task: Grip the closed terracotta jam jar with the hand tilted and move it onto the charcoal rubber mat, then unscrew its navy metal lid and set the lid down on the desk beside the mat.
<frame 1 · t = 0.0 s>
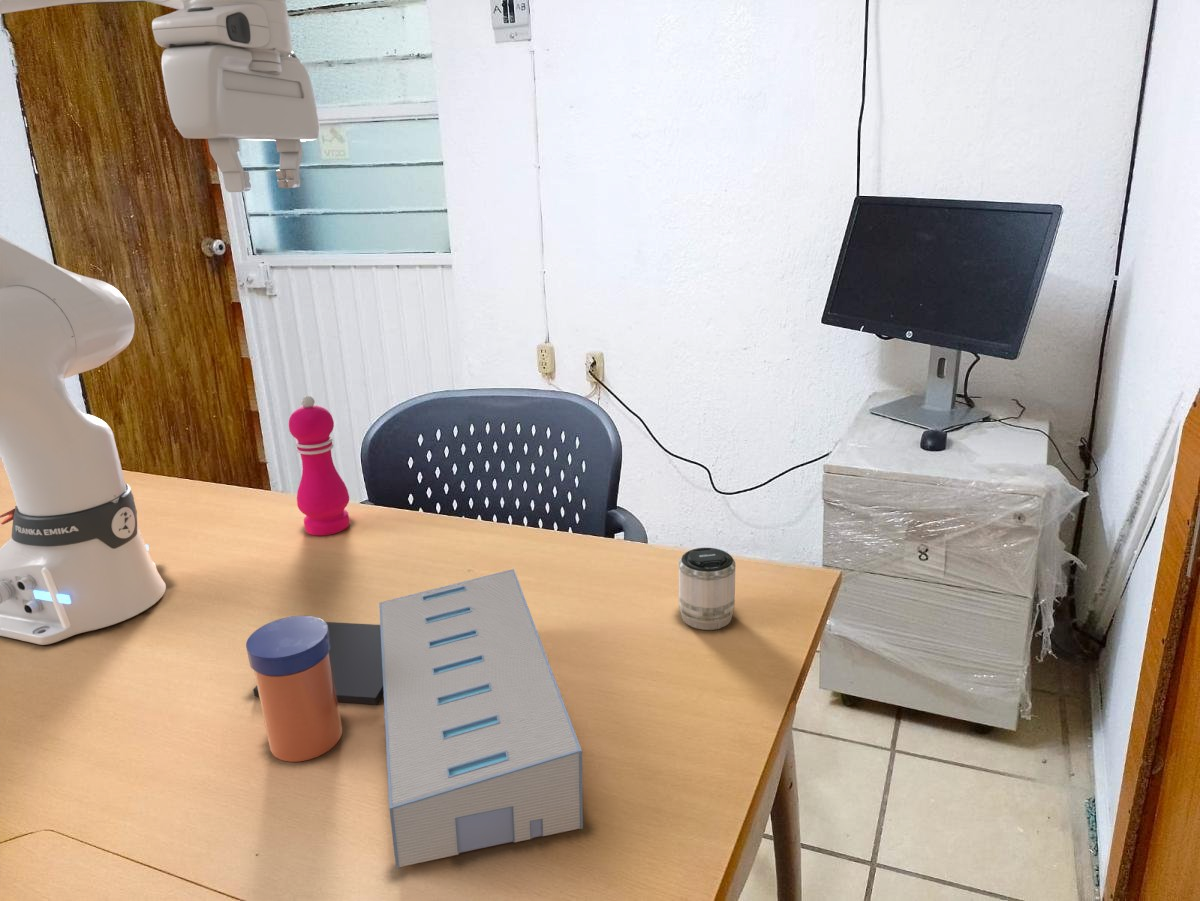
hand: (265, 189, 81), 48 cm above the table, tool pointing down, fingers open, 8 cm apart
pepper mill: (327, 528, 122), on the table
camera lens: (706, 618, 94), on the table
warehouse: (468, 726, 77), on the table, touching mat
jam jar: (306, 738, 77), on the table
jam lid: (288, 638, 73), point 11 cm above the table, screwed on, not yet turned
mat: (343, 662, 88), on the table
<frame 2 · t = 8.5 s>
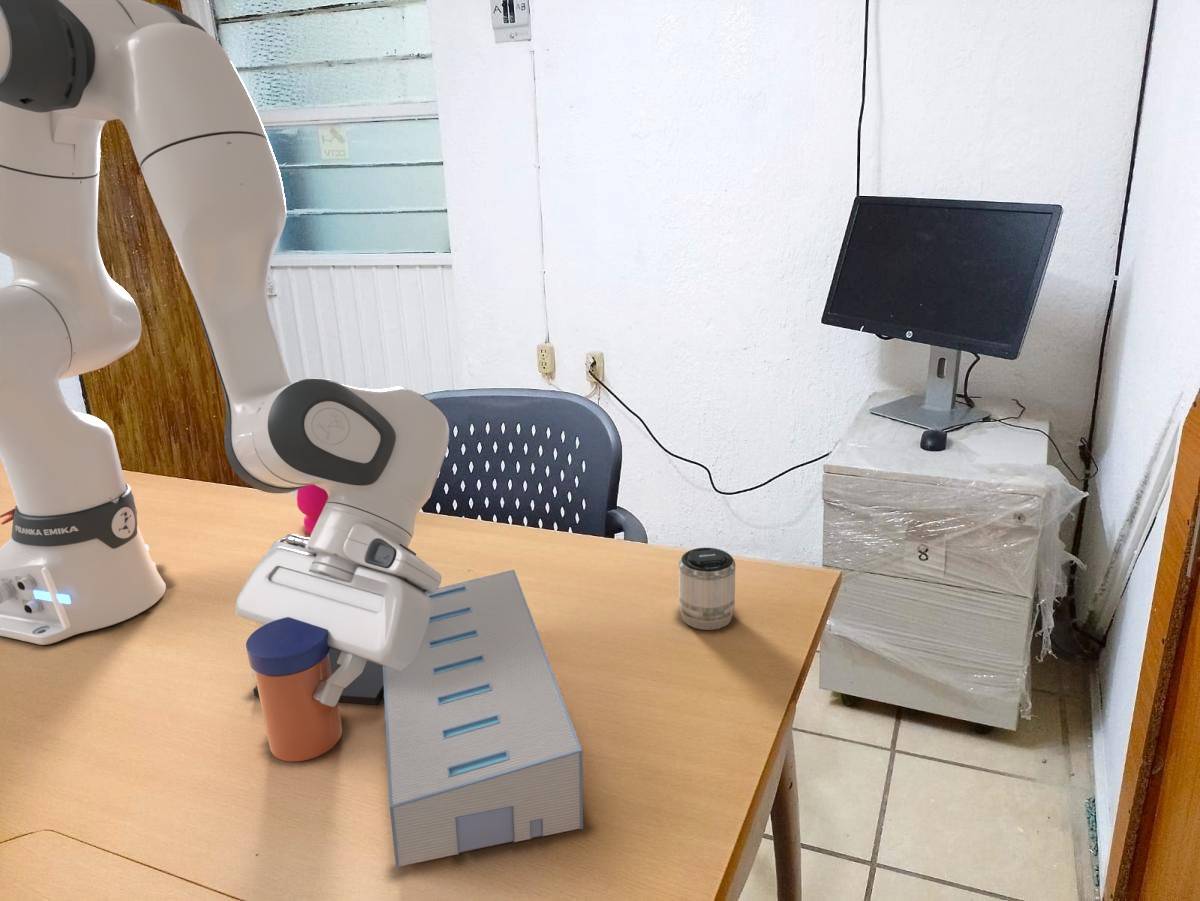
hand: (292, 692, 74), 6 cm above the table, tool tilted 45°, fingers closed on jam jar, 6 cm apart
jam jar: (306, 738, 77), on the table, touching gripper
everything else where it was.
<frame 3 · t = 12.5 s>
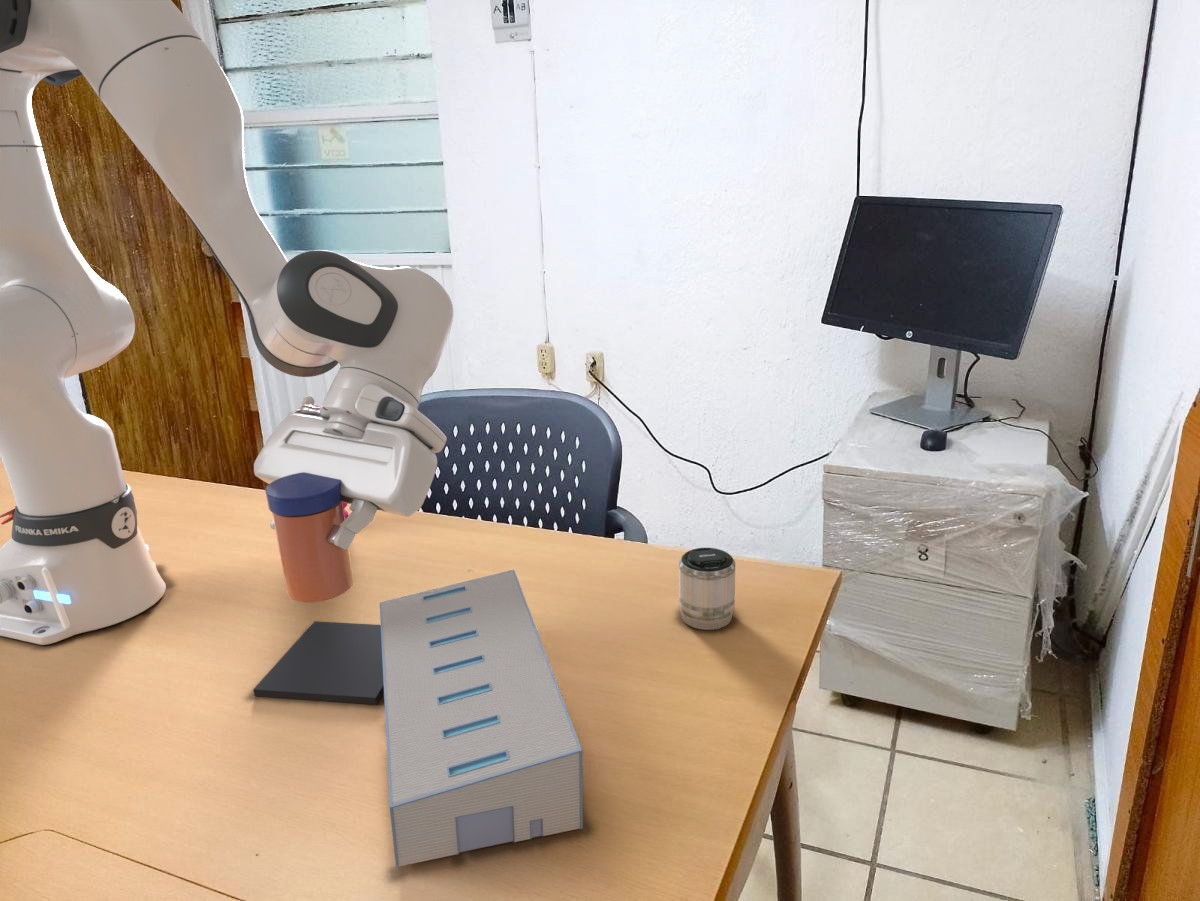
hand: (307, 538, 80), 16 cm above the table, tool tilted 45°, fingers closed on jam jar, 6 cm apart
jam jar: (320, 586, 82), point 11 cm above the table, touching gripper
jam lid: (304, 487, 79), point 21 cm above the table, screwed on, not yet turned
everything else where it was.
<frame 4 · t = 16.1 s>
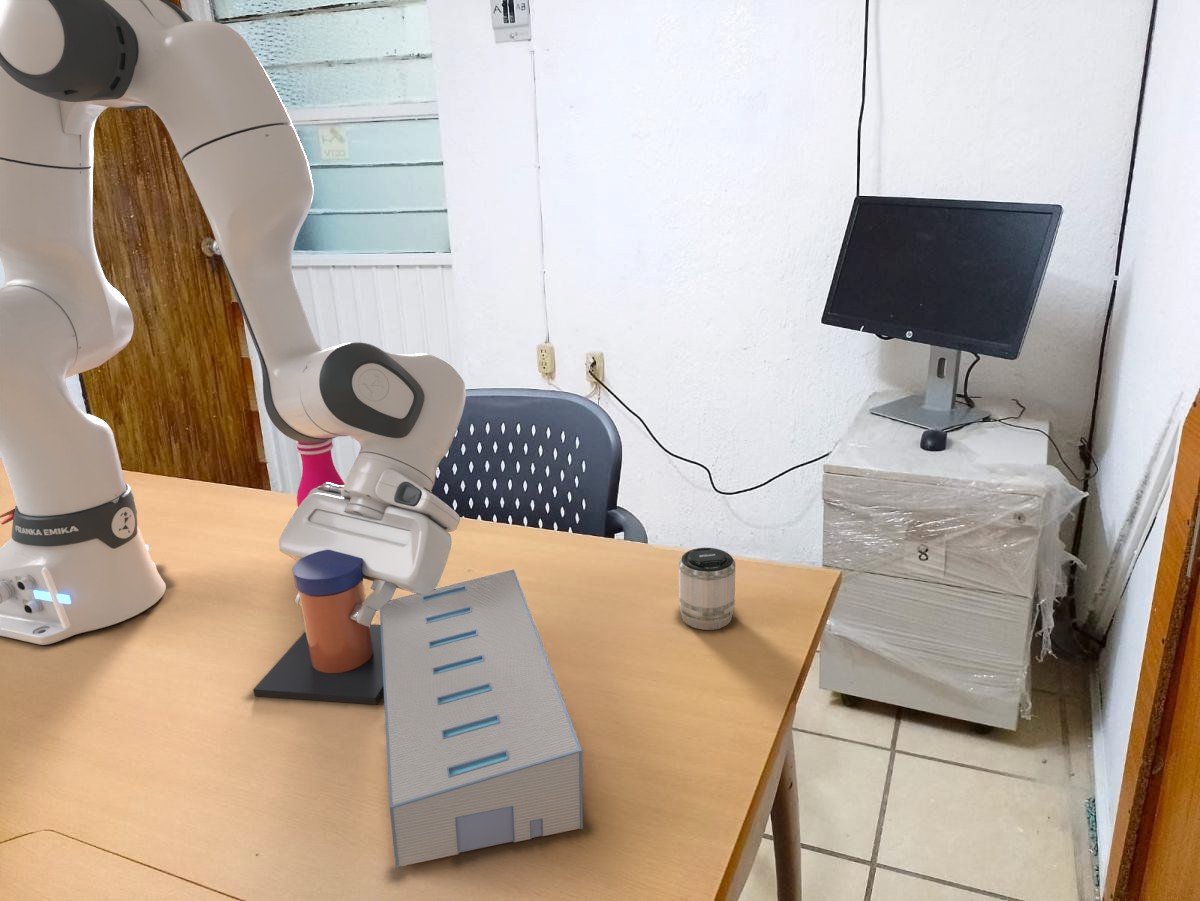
hand: (330, 614, 86), 6 cm above the table, tool tilted 45°, fingers closed on jam jar, 6 cm apart
warehouse: (468, 726, 77), on the table, touching gripper, mat
jam jar: (342, 655, 88), point 1 cm above the table, touching gripper, mat
jam lid: (328, 566, 84), point 11 cm above the table, screwed on, not yet turned
everything else where it was.
when the fingers open (6 cm above the table, at t = 16.1 s): jam jar stays where it is, resting on mat.
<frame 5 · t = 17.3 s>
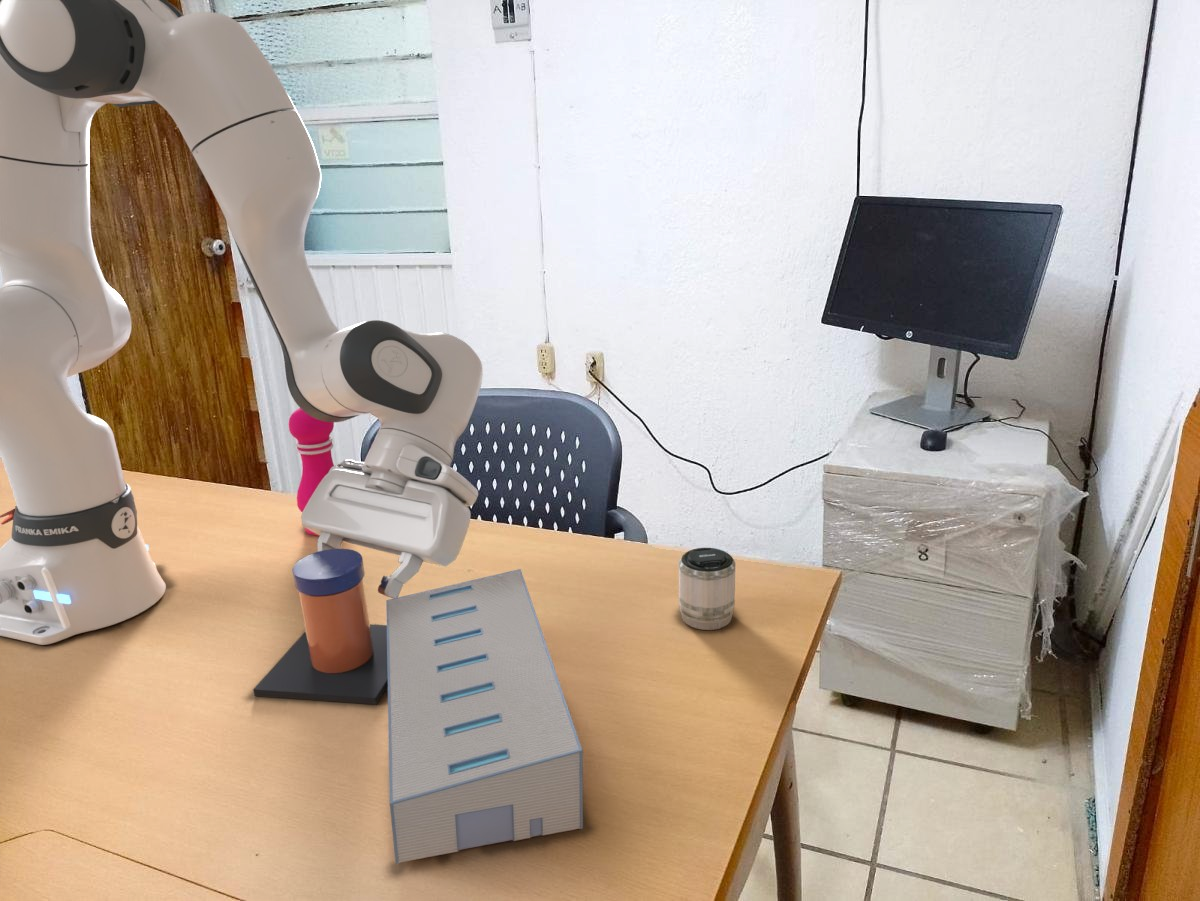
hand: (353, 586, 88), 8 cm above the table, tool tilted 45°, fingers open, 8 cm apart
warehouse: (471, 725, 77), on the table, touching mat
jam jar: (342, 656, 88), point 1 cm above the table, touching mat
everything else where it was.
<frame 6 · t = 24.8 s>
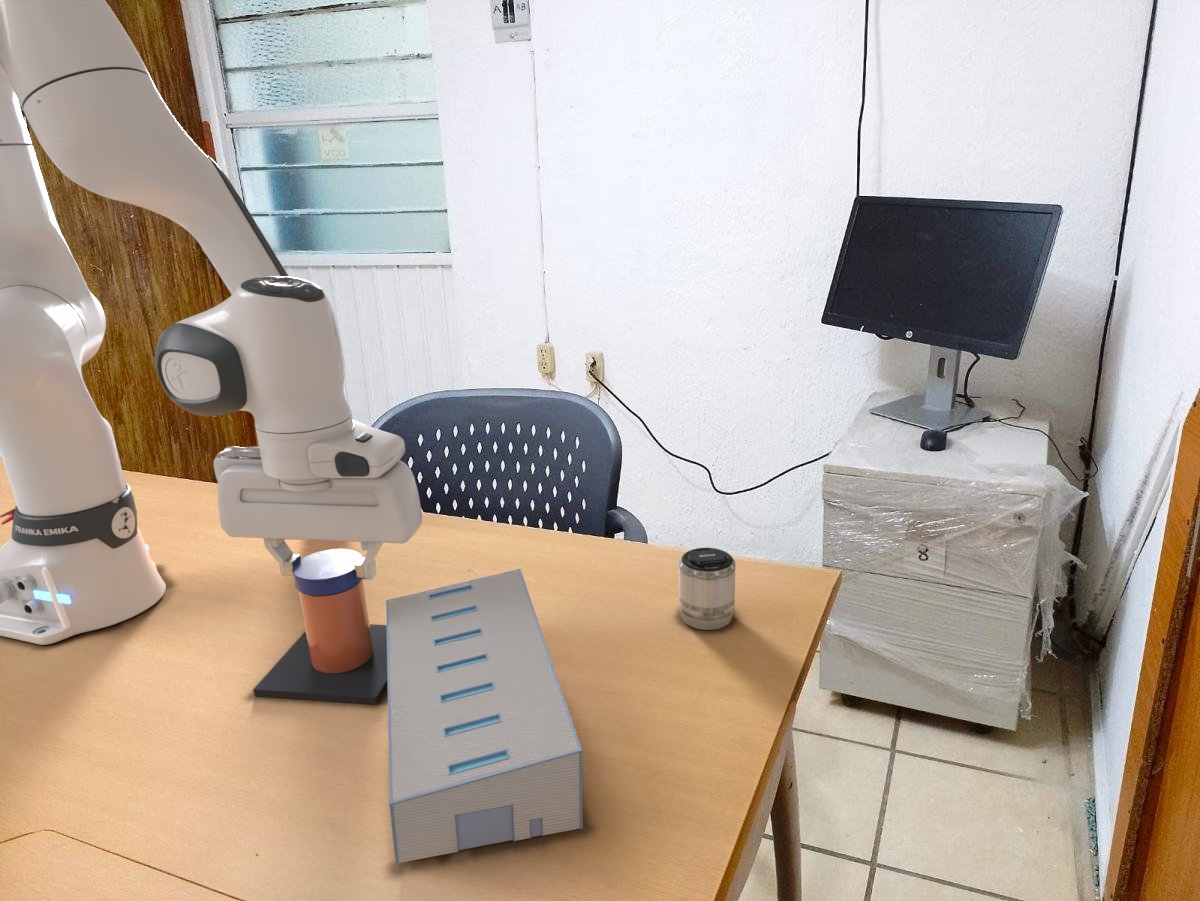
hand: (329, 575, 85), 10 cm above the table, tool pointing down, fingers closed on jam lid, 7 cm apart
jam lid: (328, 566, 85), point 11 cm above the table, screwed on, not yet turned, touching gripper
everything else where it was.
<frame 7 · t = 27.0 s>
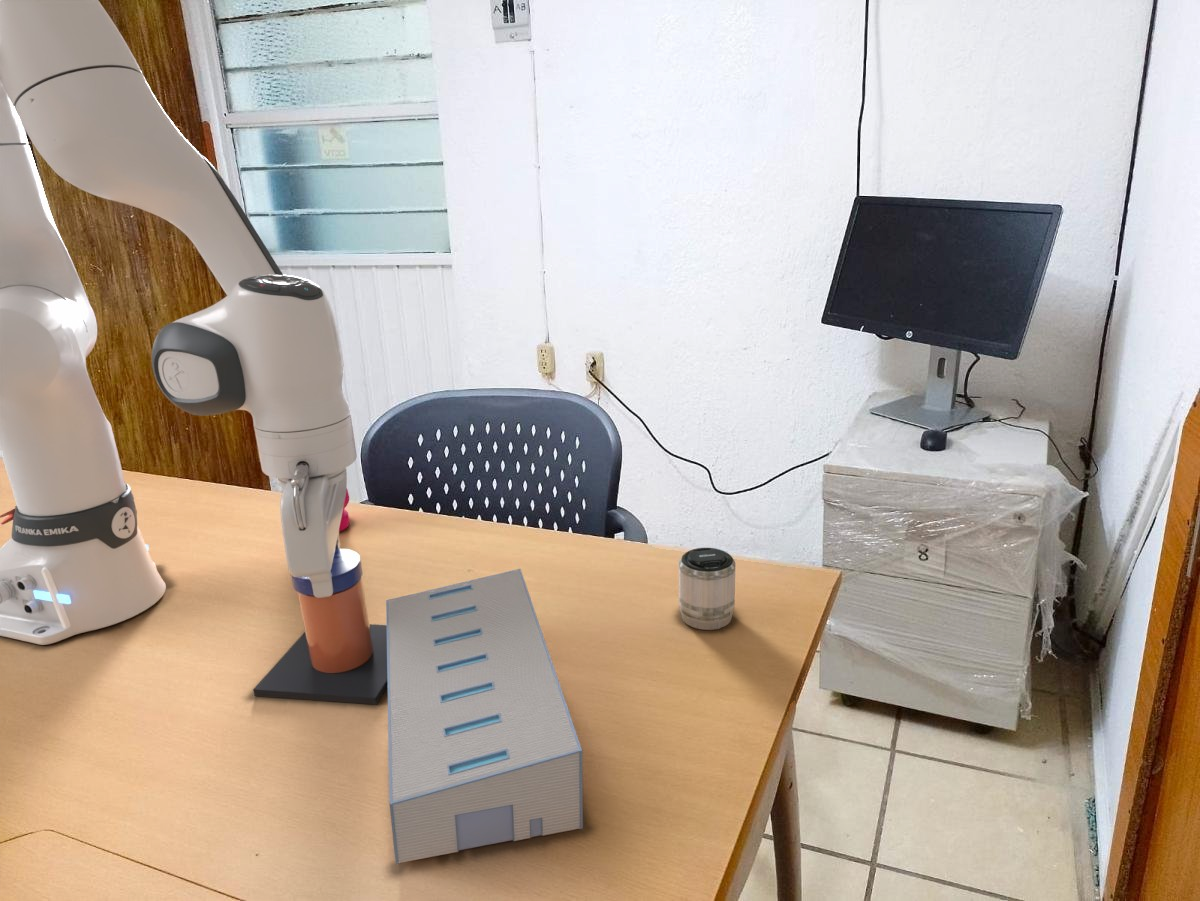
hand: (328, 574, 85), 11 cm above the table, tool pointing down, fingers closed on jam lid, 7 cm apart
jam lid: (326, 566, 84), point 12 cm above the table, off its thread, touching gripper
everything else where it was.
when the fingers open (0 cm above the table, at t = 36.1 s): jam lid stays where it is, point 1 cm above the table.
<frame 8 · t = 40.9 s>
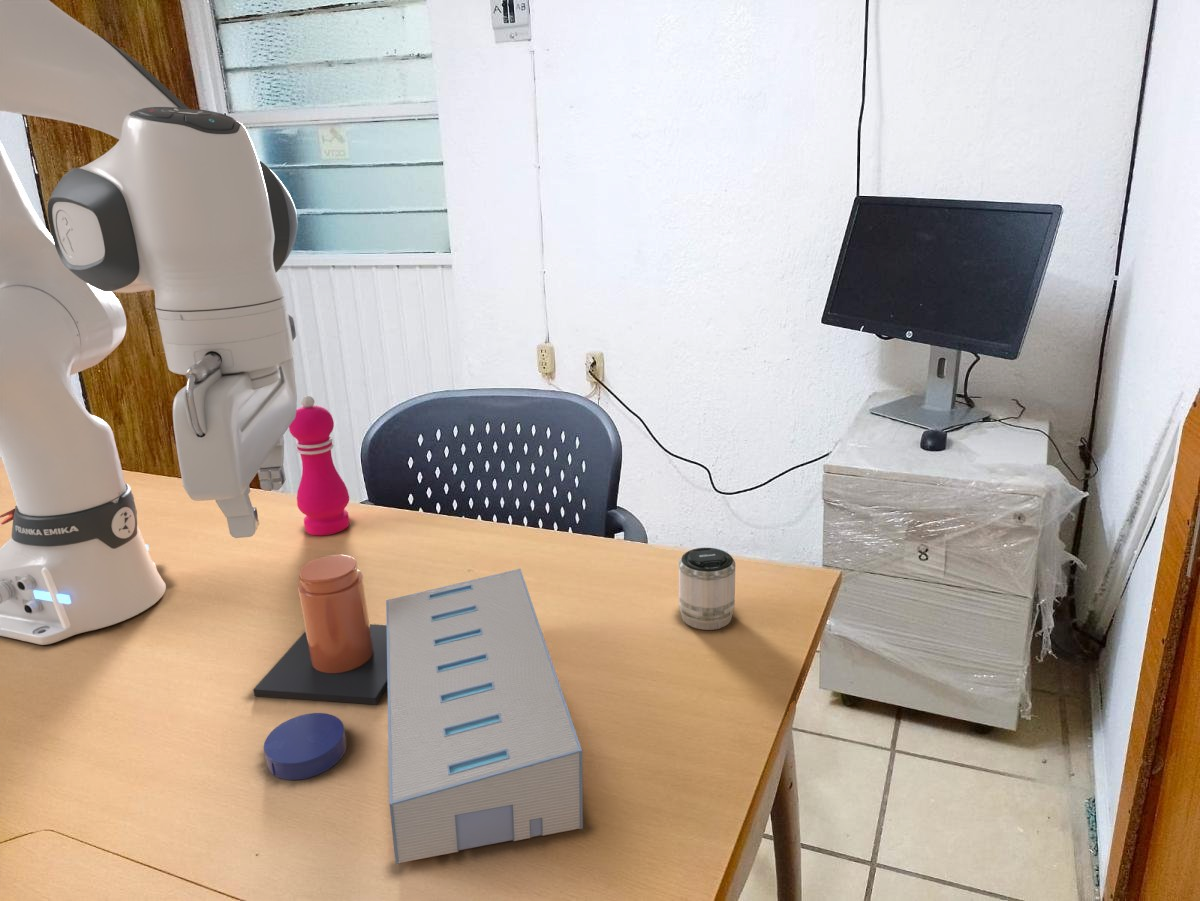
hand: (260, 509, 67), 24 cm above the table, tool pointing down, fingers open, 8 cm apart
jam lid: (304, 739, 74), point 1 cm above the table, off its thread
everything else where it was.
at the end: jam jar inside the target area on the mat (0.1 cm from its centre), point 0.8 cm above the mat's base; jam lid point 1.5 cm above the table; the gripper is holding nothing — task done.
